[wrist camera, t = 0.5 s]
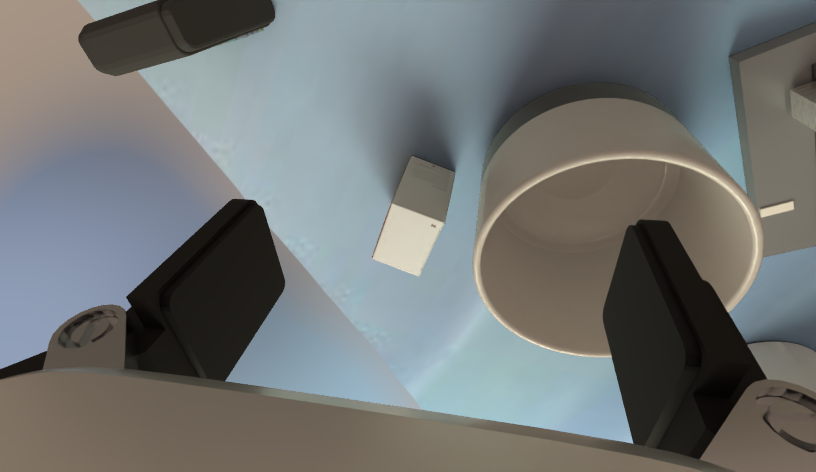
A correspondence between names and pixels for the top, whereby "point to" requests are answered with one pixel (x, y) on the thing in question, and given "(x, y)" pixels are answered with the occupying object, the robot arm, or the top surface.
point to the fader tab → (804, 104)
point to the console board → (778, 137)
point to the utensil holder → (786, 362)
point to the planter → (599, 211)
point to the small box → (415, 216)
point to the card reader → (169, 31)
